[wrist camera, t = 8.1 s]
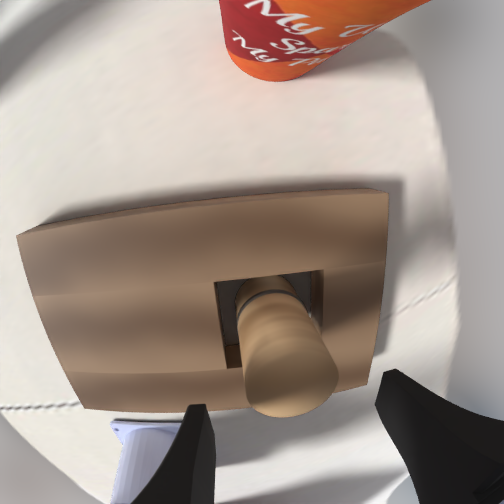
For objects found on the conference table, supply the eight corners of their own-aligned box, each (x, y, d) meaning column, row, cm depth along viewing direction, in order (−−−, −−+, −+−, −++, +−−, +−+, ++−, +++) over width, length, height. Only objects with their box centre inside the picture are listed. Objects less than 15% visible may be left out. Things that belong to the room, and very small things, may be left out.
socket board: (355, 365, 21) (366, 384, 19) (93, 388, 20) (84, 408, 17) (368, 188, 17) (388, 193, 15) (36, 226, 15) (16, 235, 13)
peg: (297, 324, 19) (335, 408, 12) (237, 332, 19) (249, 423, 12) (296, 269, 18) (344, 341, 11) (231, 276, 18) (239, 358, 10)
